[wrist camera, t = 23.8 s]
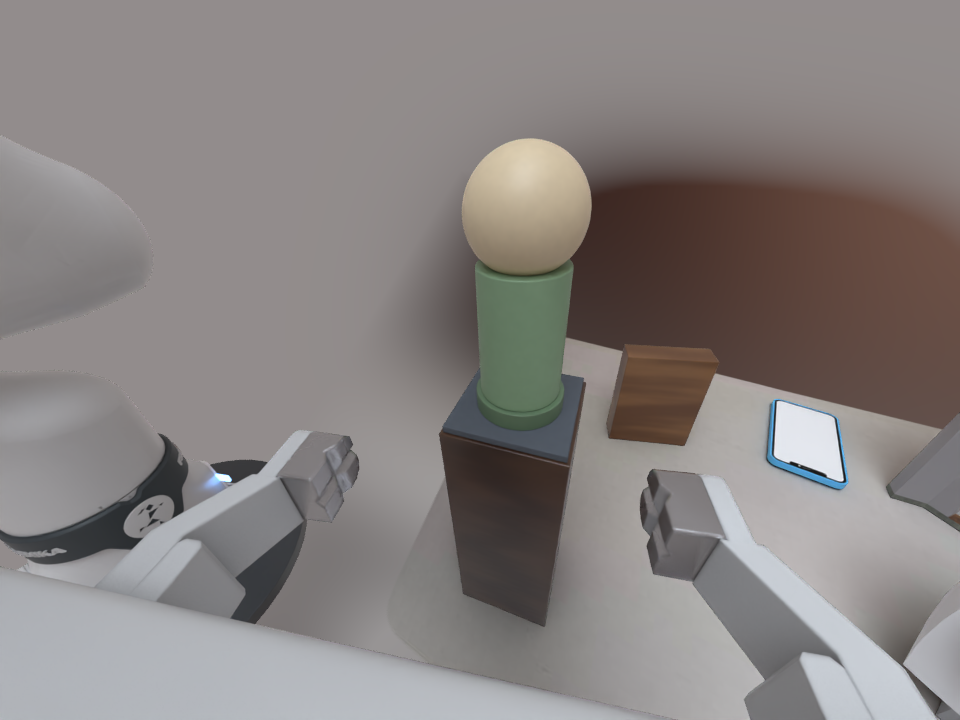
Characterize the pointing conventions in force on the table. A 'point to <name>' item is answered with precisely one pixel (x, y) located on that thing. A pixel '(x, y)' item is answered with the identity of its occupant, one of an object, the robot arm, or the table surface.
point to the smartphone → (807, 443)
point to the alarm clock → (940, 654)
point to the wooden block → (659, 393)
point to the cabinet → (934, 477)
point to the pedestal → (507, 520)
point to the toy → (524, 275)
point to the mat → (539, 442)
